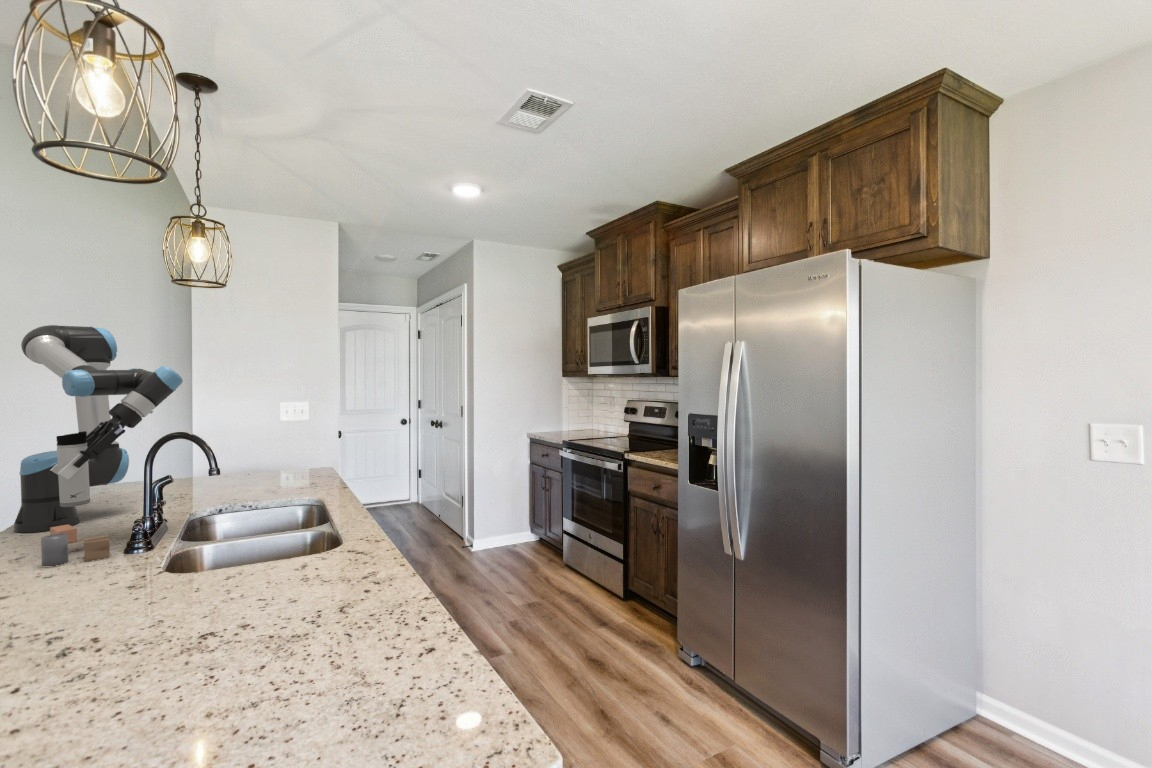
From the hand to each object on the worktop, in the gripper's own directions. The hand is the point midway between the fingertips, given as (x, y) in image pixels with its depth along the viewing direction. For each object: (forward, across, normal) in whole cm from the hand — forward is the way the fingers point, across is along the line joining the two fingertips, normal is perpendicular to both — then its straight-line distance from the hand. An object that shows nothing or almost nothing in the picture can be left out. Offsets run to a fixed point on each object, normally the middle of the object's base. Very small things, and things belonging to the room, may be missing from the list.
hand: (59, 474), depth 152 cm
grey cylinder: (+17, -10, -13) cm, 24 cm away
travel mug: (+4, 0, -9) cm, 9 cm away
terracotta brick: (+13, +13, -18) cm, 26 cm away
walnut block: (+12, -13, -18) cm, 25 cm away
